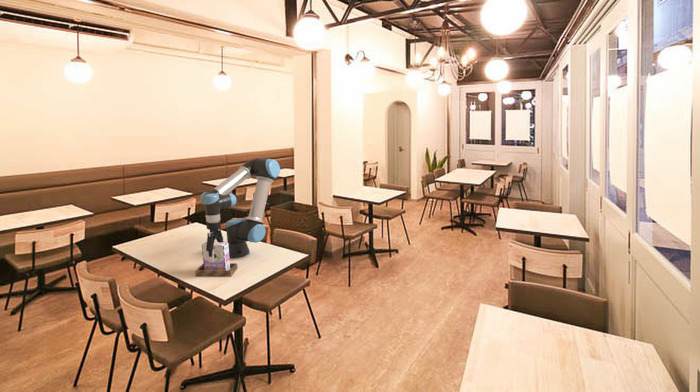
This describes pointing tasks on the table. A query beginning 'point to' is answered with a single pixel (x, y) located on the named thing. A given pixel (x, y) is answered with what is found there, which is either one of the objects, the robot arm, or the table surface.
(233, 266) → the wooden picture frame
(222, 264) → the candy box
